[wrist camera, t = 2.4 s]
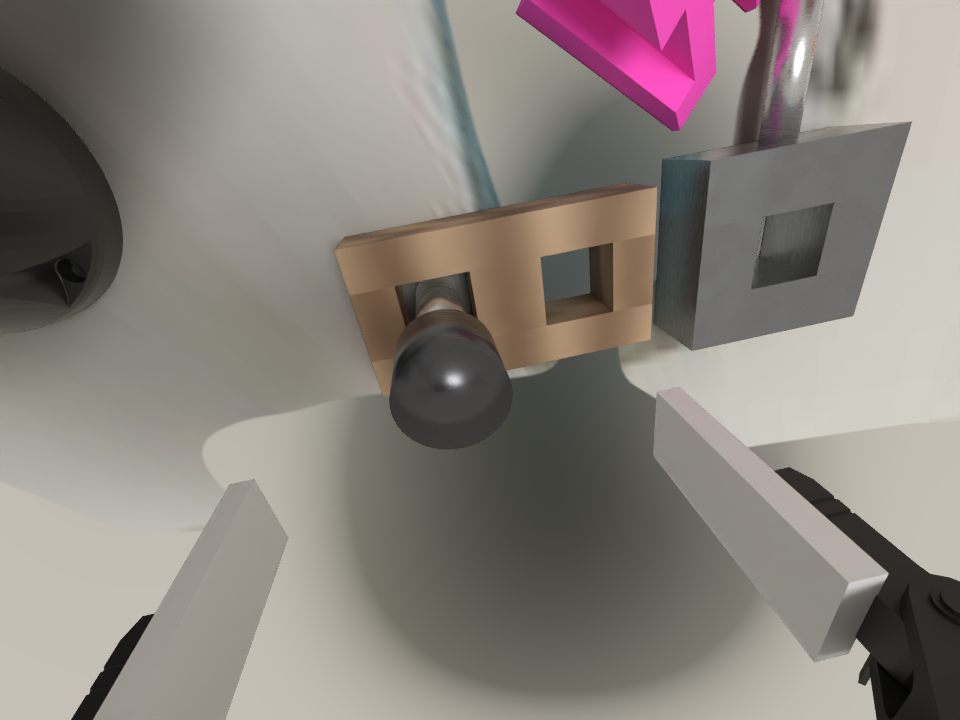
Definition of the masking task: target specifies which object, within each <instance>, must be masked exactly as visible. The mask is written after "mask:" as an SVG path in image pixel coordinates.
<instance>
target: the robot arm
mask: <svg viewBox="0 0 960 720" xmlns="http://www.w3.org/2000/svg"><path fill="white" fill-rule="evenodd" d="M122 245H123V237H122V226H121V220H120V215H119V211H118V207H117V204H116V201H115V198H114V195H113V193H112V190H111V188H110V186H109V183H108V181H107V179H106V177H105V175H104V173H103V172H102V170H101V168H100V166H99V165H98V163H97V161H96V160H95V158H94V157H93V155H92V154H91V152H90V151H89V149H88V148H87V147H86V145H85V144H84V143H83V141H82V140H81V139H80V137H79V136H78V135H77V134H76V133H75V131H74V130H73V129H72V128H71V127H70V126H69V125H68V123H67V122H66V121H65V120H64V119H63V118H62V117H61V116H60V115H59V114H58V113H57V112H56V111H55V110H54V109H53V108H52V107H51V106H50V105H49V104H48V103H46V102H45V101H44V100H43V99H42V98H41V97H40V96H38V95H37V94H36V93H35V92H34V91H32V90H31V89H30V88H29V87H27V86H26V85H25V84H23V83H22V82H21V81H19V80H18V79H16V78H15V77H14V76H12V75H11V74H9V73H8V72H6V71H5V70H3V69H2V68H0V334H4V333H14V332H21V331H27V330H31V329H36V328H39V327H43V326H46V325H49V324H52V323H54V322H57V321H59V320H61V319H64V318H66V317H68V316H70V315H72V314H74V313H77V312H79V311H81V310H82V309H84V308H86V307H88V306H89V305H91V304H92V303H93V302H95V301H96V300H97V299H98V298H99V297H100V296H101V295H102V294H103V293H104V292H105V291H106V290H107V289H108V287H109V286H110V284H111V283H112V281H113V279H114V277H115V275H116V273H117V270H118V268H119V264H120V260H121V255H122ZM654 457H655V458H656V460H657V461H658V462H659V463H660V465H661V466H662V467H663V469H664V470H665V471H666V472H667V474H668V475H669V476H670V478H671V479H672V480H673V482H674V483H675V484H676V485H677V487H678V488H679V489H680V491H681V492H682V493H683V494H684V496H685V497H686V498H687V499H688V501H689V502H690V503H691V505H692V506H693V507H694V508H695V510H696V511H697V512H698V513H699V515H700V516H701V517H702V519H703V520H704V521H705V523H706V524H707V525H708V526H709V528H710V529H711V530H712V532H713V533H714V534H715V535H716V536H717V538H718V539H719V540H720V542H721V543H722V544H723V545H724V547H725V548H726V550H728V552H729V553H730V555H731V556H732V557H733V558H734V560H735V561H736V562H737V564H738V565H739V566H740V567H741V569H742V570H743V571H744V572H745V574H746V575H747V576H748V578H749V579H750V580H751V582H752V583H753V584H754V585H755V587H756V588H757V589H758V591H759V592H760V593H761V594H762V596H763V597H764V598H765V600H766V601H767V602H768V603H769V605H770V606H771V607H772V608H773V610H774V611H775V612H776V614H777V615H778V616H779V617H780V619H781V620H782V621H783V623H784V624H785V625H786V626H787V627H788V629H789V630H790V632H791V633H792V634H793V635H794V637H795V638H796V639H797V641H798V642H799V643H800V644H801V645H802V647H803V648H804V649H805V651H806V652H807V653H808V654H809V656H810V657H811V658H812V660H813V661H814V662H818V661H821V660H825V659H829V658H833V657H838V656H842V655H846V654H848V653H849V652H850V650H851V647H852V645H853V644H854V642H855V640H856V638H857V639H858V640H859V641H860V642H861V644H862V645H863V646H864V647H865V648H866V649H867V650H868V651H869V652H870V655H869V657H868V658H867V660H866V662H865V664H864V666H863V668H862V669H861V671H860V674H859V681H858V683H860V684H862V685H866V684H867V682H868V680H869V678H870V677H871V684H872V691H873V697H874V704H875V711H876V718H877V720H960V581H957V580H954V579H952V578H949V577H944V576H938V575H933V574H930V573H928V572H927V571H926V570H924V569H923V568H921V567H920V566H919V565H917V564H916V563H915V562H914V561H912V560H911V559H910V558H909V557H908V556H906V555H905V554H904V553H903V552H901V551H900V550H899V549H898V548H897V547H895V546H894V545H893V544H892V543H891V542H889V541H888V540H887V539H886V538H884V537H883V536H882V535H881V534H879V533H878V532H877V531H876V530H875V529H873V528H872V527H871V526H870V525H869V524H867V523H866V522H865V521H864V520H862V519H861V518H860V517H859V516H858V515H856V514H855V513H851V511H850V509H849V508H848V507H847V506H845V505H844V504H843V503H842V502H840V501H839V500H838V499H835V498H834V496H833V495H832V494H831V493H829V492H828V491H827V490H826V489H824V488H823V487H822V486H821V485H820V484H819V483H817V482H816V481H815V480H814V479H812V478H810V477H807V476H806V475H804V474H802V473H799V472H798V471H795V470H794V469H792V468H790V467H789V468H784V469H779V470H776V471H773V470H772V469H771V468H770V467H769V466H768V465H766V464H765V463H764V462H763V461H762V460H761V459H760V458H759V457H757V456H756V455H755V454H754V453H753V452H752V451H751V450H750V449H748V448H747V447H746V446H745V445H744V444H743V443H742V442H741V441H739V440H738V439H737V438H736V437H735V436H734V435H733V434H732V433H730V432H729V431H728V430H727V429H726V428H725V427H724V426H723V425H721V424H720V423H719V422H718V421H717V420H716V419H715V418H714V417H712V416H711V415H710V414H709V413H708V412H707V411H706V410H705V409H703V408H702V407H701V406H700V405H699V404H698V403H697V402H696V401H694V400H693V399H692V398H691V397H690V396H689V395H688V394H687V393H685V392H684V391H683V390H682V389H681V388H680V387H677V388H672V389H668V390H663V391H658V392H657V397H656V417H655V436H654ZM287 540H288V536H287V535H286V533H285V531H284V530H283V528H282V526H281V524H280V523H279V521H278V519H277V517H276V516H275V514H274V512H273V511H272V509H271V507H270V505H269V504H268V502H267V500H266V498H265V497H264V495H263V493H262V492H261V490H260V488H259V486H258V485H257V483H256V482H255V480H254V479H253V480H249V481H244V482H239V483H235V484H230V485H229V487H228V489H227V490H226V492H225V494H224V495H223V497H222V499H221V501H220V502H219V504H218V506H217V507H216V509H215V511H214V513H213V514H212V516H211V518H210V519H209V521H208V523H207V525H206V526H205V528H204V530H203V532H202V533H201V535H200V537H199V539H198V540H197V542H196V544H195V546H194V547H193V549H192V551H191V552H190V554H189V556H188V557H187V559H186V561H185V562H184V564H183V566H182V568H181V569H180V571H179V573H178V575H177V576H176V578H175V580H174V581H173V583H172V585H171V587H170V589H169V590H168V592H167V594H166V595H165V597H164V599H163V600H162V602H161V604H160V606H159V607H158V609H157V611H156V612H155V614H151V615H147V616H142V618H141V619H140V620H139V621H138V622H137V623H136V624H135V625H134V626H133V627H132V628H131V630H130V631H129V632H128V633H127V634H126V635H125V636H124V637H123V638H122V639H121V640H120V642H119V643H118V645H117V647H116V648H115V650H114V651H113V653H112V655H111V656H110V658H109V660H108V661H107V663H106V664H105V666H104V671H103V672H101V673H100V674H99V676H98V677H97V679H96V680H95V682H94V684H93V685H92V687H91V688H90V694H89V695H86V697H85V698H84V700H83V701H82V703H81V705H80V706H79V708H78V710H77V711H76V713H75V714H74V716H73V718H72V719H71V720H225V719H226V716H227V713H228V710H229V707H230V705H231V701H232V699H233V696H234V693H235V690H236V687H237V684H238V681H239V678H240V676H241V673H242V670H243V667H244V664H245V661H246V658H247V655H248V652H249V650H250V647H251V644H252V641H253V638H254V635H255V632H256V629H257V627H258V624H259V621H260V618H261V615H262V612H263V609H264V606H265V603H266V601H267V598H268V595H269V592H270V589H271V586H272V583H273V580H274V578H275V575H276V572H277V569H278V566H279V563H280V560H281V557H282V554H283V552H284V549H285V546H286V543H287Z"/></svg>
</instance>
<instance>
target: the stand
mask: <svg viewBox="0 0 960 720" xmlns="http://www.w3.org/2000/svg"><path fill="white" fill-rule="evenodd" d="M656 208H657V187H654V186H646V185H638V184H632V183H622V184H617V185H612V186H607V187H601V188H596V189H591V190H586V191H581V192H575V193H570V194H565V195H561V196H555V197H550V198H544V199H540V200H534V201H529V202H524V203H519V204H514V205H508V206H503V207H498V208H493V209H488V210H483V211H478V212H472V213H467V214H462V215H457V216H452V217H447V218H442V219H436V220H431V221H426V222H421V223H416V224H411V225H406V226H400V227H395V228H390V229H385V230H380V231H375V232H370V233H365V234H359V235H354V236H349V237H345V238H344V239H343V240H342V242H341V243H340V244H339V245H338V246H337V247H336V249H335V250H334V252H335V255H336V258H337V261H338V264H339V267H340V270H341V273H342V275H343V278H344V281H345V284H346V287H347V290H348V293H349V296H350V299H351V302H352V305H353V308H354V311H355V314H356V317H357V320H358V323H359V326H360V329H361V332H362V335H363V338H364V341H365V344H366V347H367V350H368V353H369V356H370V359H371V362H372V365H373V368H374V371H375V374H376V377H377V380H378V383H379V386H380V389H381V392H382V395H383V397H384V396H389V395H390V389H391V380H392V371H393V362H394V353H395V347H396V343H397V340H398V338H399V336H400V334H401V333H402V331H403V330H404V328H405V327H406V326H407V325H408V324H409V323H410V322H411V320H410V316H409V312H408V309H407V305H406V301H405V297H404V294H403V290H402V286H401V285H404V284H409V283H414V282H419V281H424V280H429V279H434V278H439V277H444V276H449V275H454V274H459V273H464V272H466V276H467V282H468V287H469V293H470V298H471V304H472V309H473V315H474V317H476V318H477V319H479V320H480V321H481V322H482V323H483V324H484V325H485V326H486V327H487V329H488V330H489V331H490V333H491V335H492V337H493V340H494V342H495V345H496V347H497V349H498V352H499V354H500V357H501V359H502V362H503V364H504V366H505V369H506V370H511V369H515V368H520V367H525V366H529V365H534V364H539V363H543V362H548V361H553V360H557V359H562V358H566V357H571V356H576V355H581V354H585V353H589V352H595V351H599V350H604V349H609V348H613V347H618V346H623V345H627V344H632V343H637V342H641V341H646V340H651V320H652V298H653V275H654V274H653V273H654V252H655V230H656ZM588 247H589V259H590V289H591V293H590V294H585V295H580V296H575V297H570V298H566V299H561V300H556V301H552V302H547V303H545V302H544V292H543V281H542V271H541V259H540V257H543V256H548V255H553V254H558V253H563V252H568V251H573V250H578V249H583V248H588Z"/></svg>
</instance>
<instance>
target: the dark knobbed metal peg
mask: <svg viewBox="0 0 960 720" xmlns="http://www.w3.org/2000/svg"><path fill="white" fill-rule="evenodd" d="M389 401H390V409H391V413H392V416H393V418H394V420H395V422H396V424H397V425H398V427H399V428H400V429H401V430H402V432H403V433H405V434H406V435H407V436H408V437H410V438H411V439H412V440H414V441H416V442H418V443H420V444H422V445H425V446H428V447H432V448H437V449H458V448H464V447H467V446H471V445H473V444H476V443H478V442H480V441H482V440H484V439H485V438H487V437H489V436H490V435H491V434H492V433H494V432H495V431H496V430H497V429H498V428H499V427H500V426H501V424H502V423H503V422H504V420H505V418H506V417H507V415H508V413H509V410H510V407H511V403H512V386H511V382H510V379H509V376H508V374H507V371H506V369H505V366H504V364H503V362H502V359H501V357H500V354H499V352H498V349H497V347H496V345H495V342H494V340H493V337H492V335H491V333H490V331H489V330H488V329H487V327H486V326H485V325H484V324H483V323H482V322H481V321H480V320H479V319H477V318H476V317H474V316H472V315H470V314H468V313H466V312H464V309H463V306H462V303H461V299H460V296H459V293H458V289H457V286H456V284H455V283H454V281H453V280H452V279H451V278H449V277H448V276H444V277H439V278H434V279H429V280H424V281H420V283H419V284H418V286H417V289H416V318H415V319H414V320H413V321H411V322H410V323H409V324H408V325H407V326H406V327H405V328H404V330H403V331H402V333H401V334H400V336H399V338H398V340H397V343H396V347H395V353H394V362H393V371H392V380H391V389H390V399H389Z"/></svg>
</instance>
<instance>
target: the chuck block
mask: <svg viewBox="0 0 960 720" xmlns="http://www.w3.org/2000/svg"><path fill="white" fill-rule="evenodd" d="M823 4H824V0H779V5H778V12H777V19H776V25H775V32H774V39H773V46H772V52H771V59H770V66H769V73H768V79H767V86H766V93H765V100H764V106H763V113H762V120H761V127H760V133H759V140H758V141H755V142H750V143H745V144H740V145H734V146H729V147H724V148H719V149H714V150H708V151H703V152H698V153H693V154H688V155H683V156H677V157H673V158H667V159H663V160H662V177H661V198H660V218H659V220H660V221H659V239H658V260H657V280H656V301H655V321H654V324H655V325H657V326H658V327H659V328H661V329H662V330H664V331H665V332H666V333H668V334H669V335H671V336H672V337H673V338H675V339H676V340H677V341H679V342H680V343H682V344H683V345H684V346H686V347H687V348H689V349H690V350H691V351H693V350H698V349H703V348H707V347H712V346H717V345H721V344H726V343H730V342H735V341H740V340H744V339H749V338H753V337H758V336H763V335H767V334H772V333H777V332H781V331H786V330H790V329H795V328H800V327H804V326H809V325H814V324H818V323H823V322H827V321H832V320H837V319H841V318H846V317H850V316H853V315H854V312H855V308H856V305H857V302H858V298H859V295H860V292H861V288H862V285H863V282H864V279H865V275H866V272H867V269H868V265H869V262H870V259H871V255H872V252H873V249H874V246H875V242H876V239H877V236H878V232H879V229H880V226H881V222H882V219H883V216H884V213H885V209H886V206H887V203H888V199H889V196H890V193H891V189H892V186H893V183H894V180H895V176H896V173H897V170H898V166H899V163H900V160H901V156H902V153H903V150H904V147H905V143H906V140H907V137H908V133H909V130H910V127H911V123H912V122H898V123H882V124H867V125H851V126H836V127H828V128H823V129H818V130H812V131H807V132H802V133H799V131H800V126H801V120H802V115H803V110H804V105H805V99H806V94H807V89H808V83H809V78H810V73H811V68H812V62H813V57H814V52H815V46H816V41H817V36H818V31H819V25H820V20H821V15H822V9H823ZM765 216H767V217H766V223H765V229H764V235H763V241H762V247H761V253H760V258H759V259H756V254H757V248H758V242H759V236H760V230H761V224H762V218H763V217H765Z"/></svg>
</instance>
